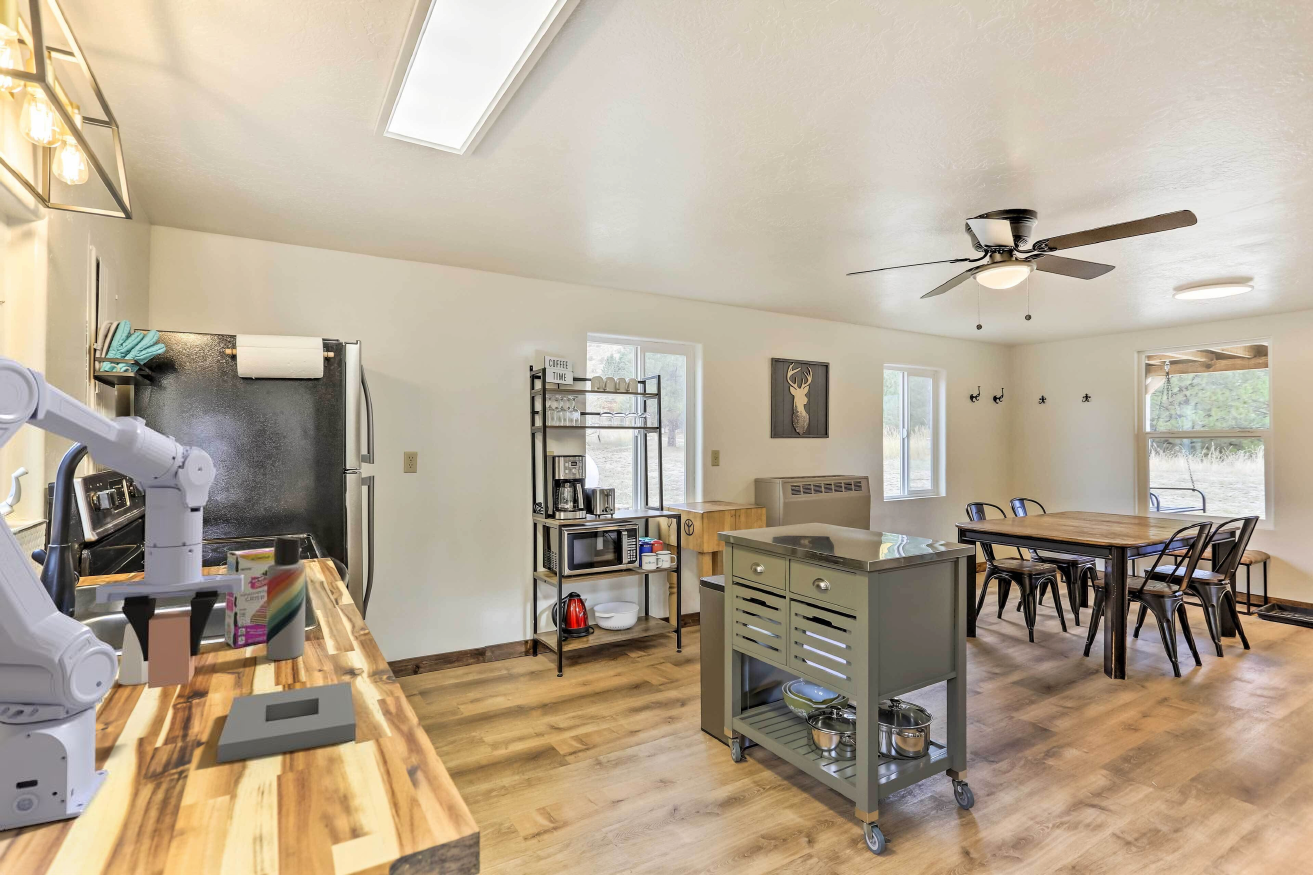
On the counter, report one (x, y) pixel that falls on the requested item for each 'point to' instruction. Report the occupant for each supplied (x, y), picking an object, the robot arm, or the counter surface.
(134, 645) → the pepper shaker
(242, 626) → the candy bar box
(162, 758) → the counter surface
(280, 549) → the lotion bottle
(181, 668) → the terracotta peg
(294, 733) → the socket block
